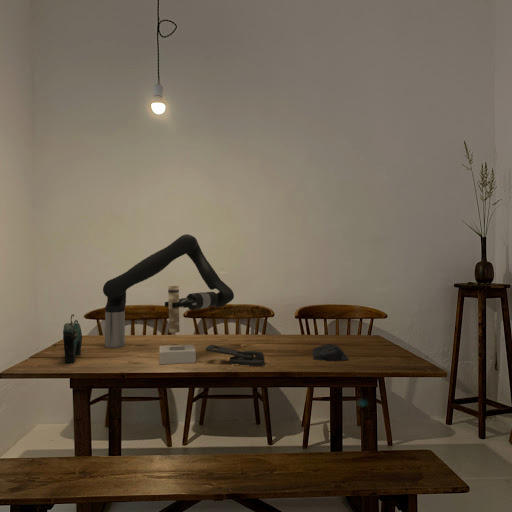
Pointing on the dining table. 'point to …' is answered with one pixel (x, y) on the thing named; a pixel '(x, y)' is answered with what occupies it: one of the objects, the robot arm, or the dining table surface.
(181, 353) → the well block
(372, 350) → the dining table surface
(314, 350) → the dark slate chunk
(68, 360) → the ceramic cat
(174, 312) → the beech dowel
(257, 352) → the zipper pull
